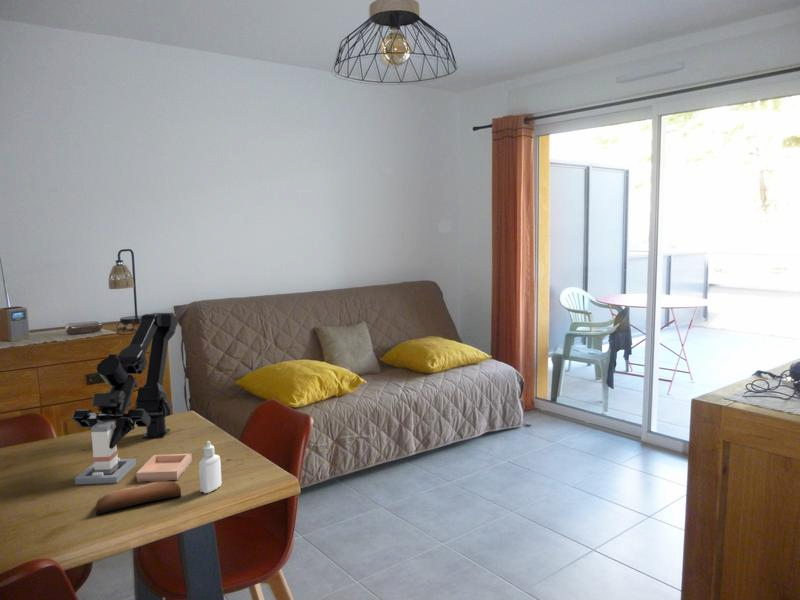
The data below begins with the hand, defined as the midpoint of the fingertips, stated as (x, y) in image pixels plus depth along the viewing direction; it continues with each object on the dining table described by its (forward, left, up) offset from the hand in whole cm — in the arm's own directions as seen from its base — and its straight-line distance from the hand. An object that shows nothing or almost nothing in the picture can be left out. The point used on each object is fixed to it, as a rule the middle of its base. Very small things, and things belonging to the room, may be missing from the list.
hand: (102, 448), depth 150 cm
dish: (-1, +15, -7) cm, 17 cm away
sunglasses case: (+15, +14, -8) cm, 22 cm away
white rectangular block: (-1, 0, -7) cm, 7 cm away
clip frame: (-1, 0, -7) cm, 8 cm away
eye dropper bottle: (+11, +30, -8) cm, 33 cm away
